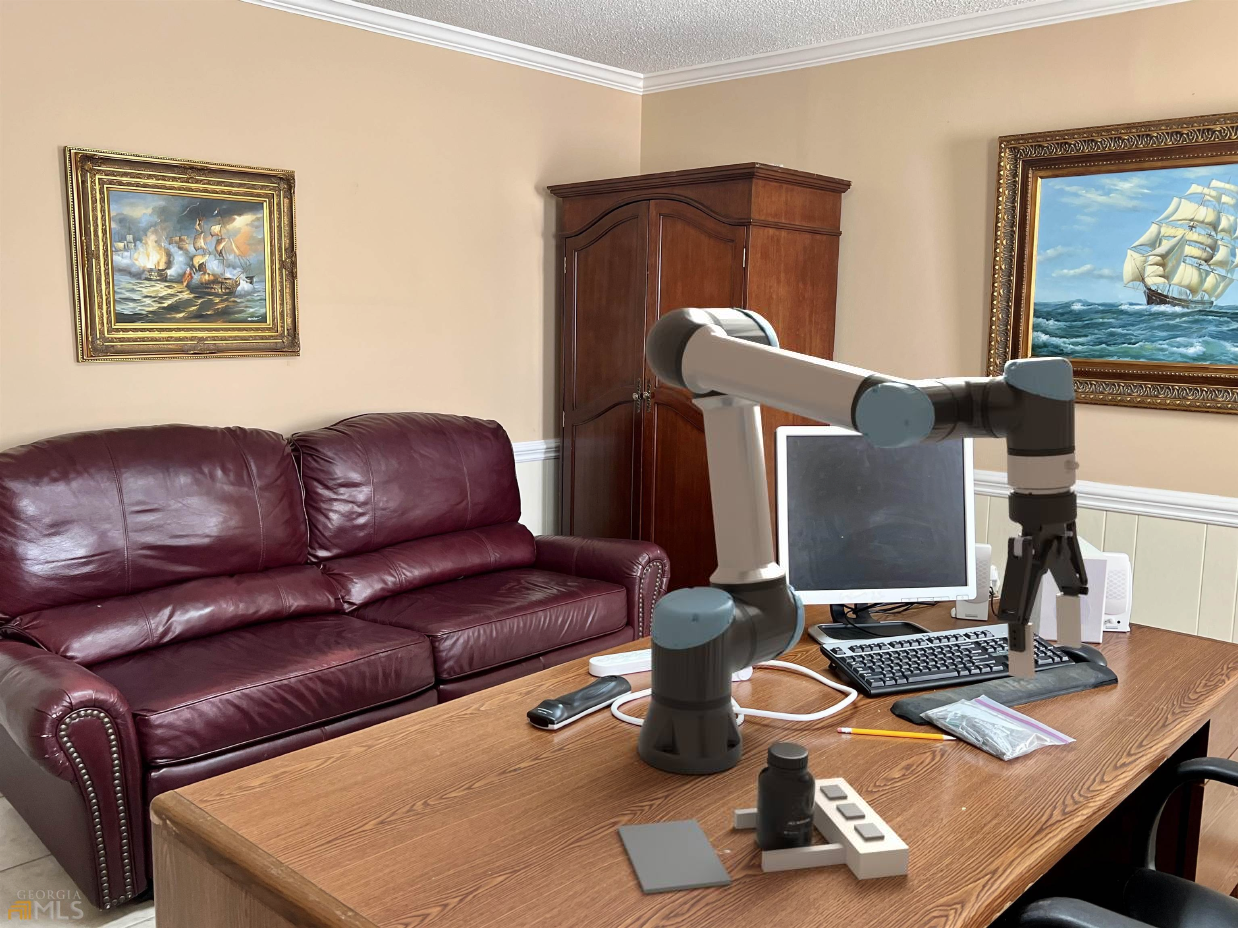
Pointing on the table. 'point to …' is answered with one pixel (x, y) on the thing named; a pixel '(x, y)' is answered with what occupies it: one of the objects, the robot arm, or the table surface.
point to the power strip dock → (840, 836)
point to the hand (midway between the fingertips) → (1046, 660)
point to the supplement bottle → (785, 799)
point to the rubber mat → (672, 856)
